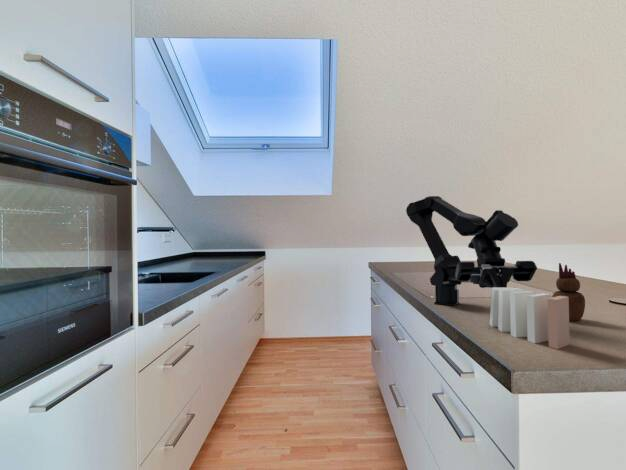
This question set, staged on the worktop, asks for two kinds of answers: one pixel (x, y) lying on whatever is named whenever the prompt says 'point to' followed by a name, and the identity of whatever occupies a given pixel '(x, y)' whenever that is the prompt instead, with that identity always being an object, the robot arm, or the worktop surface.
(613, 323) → the worktop surface
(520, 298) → the domino
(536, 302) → the domino
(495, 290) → the domino
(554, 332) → the domino
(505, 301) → the domino
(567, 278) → the wooden figurine
